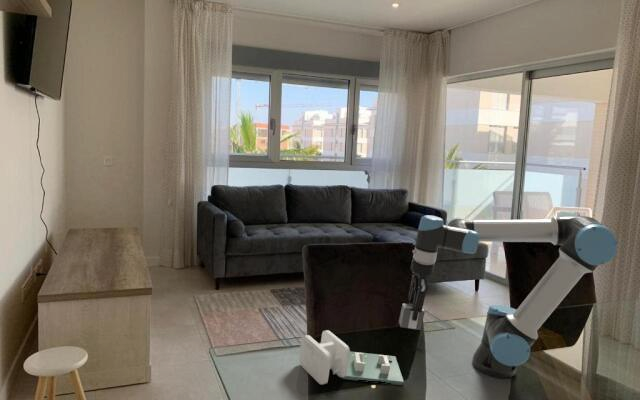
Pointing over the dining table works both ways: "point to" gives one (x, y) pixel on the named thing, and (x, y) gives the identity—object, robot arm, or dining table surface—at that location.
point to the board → (373, 368)
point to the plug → (406, 315)
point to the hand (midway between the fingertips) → (410, 324)
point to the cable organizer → (324, 356)
